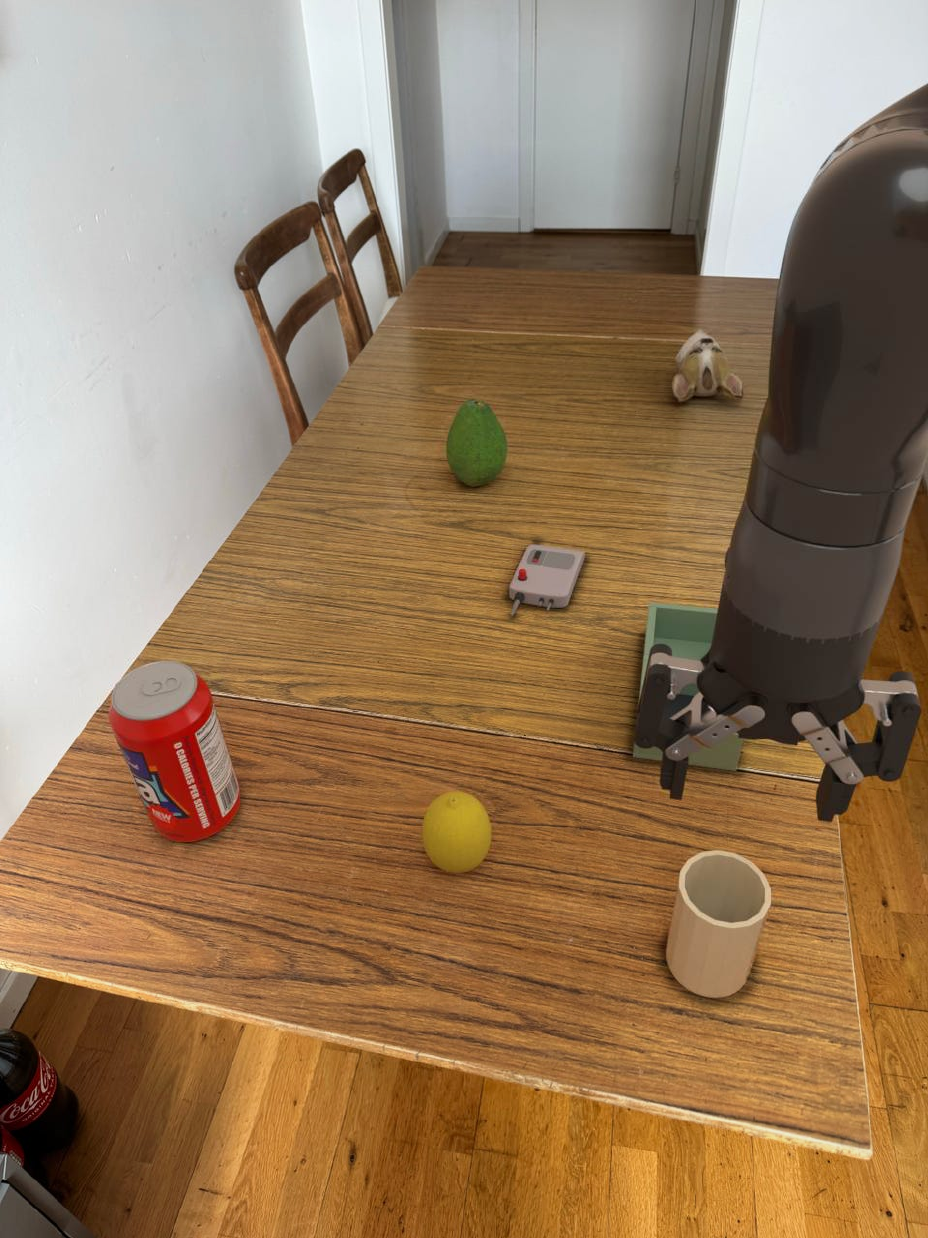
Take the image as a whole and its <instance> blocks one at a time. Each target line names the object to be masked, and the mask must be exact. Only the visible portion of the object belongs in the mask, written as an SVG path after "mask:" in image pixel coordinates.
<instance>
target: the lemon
mask: <svg viewBox="0 0 928 1238" xmlns="http://www.w3.org/2000/svg"><path fill="white" fill-rule="evenodd" d="M492 833H493V832H492V823H491V821H490V817H489V814H488V812H487V810H486V808H485V807H484V805H483V804H482V802H481V801H479V800H478V799H477V798H476V797H475V796H474V795H472V794H470V793H467V792H464V791H456V790H455V791H447V792H446V793H443V794H441V795H439V796H437V797H436V798H434V800H433V801H432V802H431V803H430V804H429V805H428V807H427V809H426V811H425V812H424V816H423V820H422V823H421V841H422V846H423V848H424V851H425V853H426V855H427V857H428V858H429V860H430V861H431V862H432V864H433V865H435V866H436V867H437V868H439V870H441V871H445V872H447V873H450V874H451V873H452V874H463V873H467V872H470V871H472V870H474V869H475V868H477V867H478V866H479V865H480V864H482V863H483V861H484V860H485V858H486V857H487V856H488V853H489V850H490V847H491V844H492Z"/></svg>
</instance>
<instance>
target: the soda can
mask: <svg viewBox="0 0 928 1238" xmlns="http://www.w3.org/2000/svg"><path fill="white" fill-rule="evenodd" d="M110 700H111V703H110V706H109V709H108V721H109V726H110V728H111V731H112V733H113V735H114V738H115V740H116V743H117V745H118V747H119V750H120V752H121V755H122V757H123V759H124V761H125V764H126V766H127V770H128V771H129V774H130V776H131V778H132V781H133V783H134V786H135V789H136V790H137V792H138V796H139V798H140V800H141V803H142V805H143V808H144V810H145V812H146V814H147V817H148V819H149V821H150V824H151V825H152V827H153V828H154V830H155V831H156V833H157V834H158V835H160V836H161V837H163V838H165V839H168V840H170V841H175V842H181V843H188V842H196V841H200V840H203V839H207V838H208V837H211V836H213V835H215V834H217V833H218V832H220V831H221V830H223V829H224V828H225V827H226V826H227V825H229V824H230V823H231V822H232V820H233V819H234V818H235V816H236V814H237V813H238V811H239V808H240V807H241V806H240V805H241V802H242V793H241V787H240V784H239V781H238V778H237V774H236V770H235V768H234V767H235V766H234V765H233V764H234V763H233V761H232V757H231V754H230V751H229V747H228V745H227V740H226V738H225V735H224V734H225V733H224V731H223V728H222V724H221V722H220V717H219V715H218V712H217V709H216V705H215V702H214V698H213V695H212V692H211V689H210V686H209V685H208V684H207V682H206V681H205V679H204V678H203V677H201V676H199V675H198V674H196V672H195V671H194V670H193V669H192V668H191V667H190V666H188V665H187V664H185V663H182V662H179V661H176V660H158V661H153V662H149V663H147V664H146V663H145V664H143V665H141V666H139V667H136V668H134V669H133V670H131V671H129V672H128V673H126V674H125V675H124V676H122V677H121V679H119V681H118V682H117V683H116V684H115V686H114V688H113V690H112V692H111V697H110Z"/></svg>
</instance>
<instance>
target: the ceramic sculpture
mask: <svg viewBox="0 0 928 1238" xmlns="http://www.w3.org/2000/svg"><path fill="white" fill-rule="evenodd" d="M675 366H676V368H677V370H678V372H677V373H676V374H675V375H674V376H673V377H672V378H671V384H670V387H671V388H670V389H671V392H672V393H671V394H672V396H673V397H672V398H673V399H674V400H676V401H677V402H678V403H683V402H686V401H688V400H691V399H692V398H693V397H712V396H715V395H717V394H718V393H720V394H721V396H722V397H723V398H724V399H726V400H730V401H736V402H737V401H738V402H742V401H743V400H744V382H743V380H741V376H740V375H739V374H737V373H736V372H734V371H732V370H731V368H730V363H729V361H728V357H727V356H726V354H725V353H724V351H723V350H722V349H721V346H720V345H719V344H718V342H717V341H716V340H715V339H714V337H712V336H711V335H709V334H707V333H706V332H705V331H704V330H703V329H702V328H699V329H697V330H696V331H695V333H694V334H693V335H691V336H690V337H688V338H687V340H686V341H685V342H684V343H683V345H682V347H681V348H680V350H679V352H678V353H677V354H676V355H675Z"/></svg>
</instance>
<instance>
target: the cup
mask: <svg viewBox="0 0 928 1238" xmlns="http://www.w3.org/2000/svg"><path fill="white" fill-rule="evenodd" d="M673 901H674V902H673V907H672V912H671V917H670V922H669V928H668V934H667V938H666V939H667V940H666V947H665V960H666V963H667V966H668V969H669V971H670V972H671V974H672V975H673V977H674V979H676V981H677V982H678V983H679V984H680V985H681V986H683V987H684V988H685V989H686V990H688V991H690V992H691V993H693V994H695V995H698V996H702V997H704V998H713V999H714V998H715V999H718V998H725V997H728V996H732V995H733V994H735V993H737V992H738V991H740V990H741V989H742V988H743V986H745V984H746V982H747V980H748V978H749V975H750V973H751V971H752V967H753V964H754V961H755V957H756V955H757V953H758V952H757V951H758V948H759V946H760V941H761V938H762V935H763V931H764V929H765V925H766V921H767V918H768V916H769V912H770V908H771V905H772V888H771V886H770V884H769V882H768V880H767V877H766V875H765V874H764V872H763V871H762V870H761V869H760V868H758V866H757V865H756V864H754V863H753V861H751V860H749V859H748V858H745V857H743V856H742V855H740V854H738V853H735V852H731V851H727V850H721V849H720V850H719V849H715V850H708V851H701V852H699V853H697V854H695V855H693V856H692V857H690V858H688V859H687V860H686V862H685V863H684V865H683V866H682V868H681V869H680V871H679V874H678V880H677V885H676V890H675V896H674V900H673Z"/></svg>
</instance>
